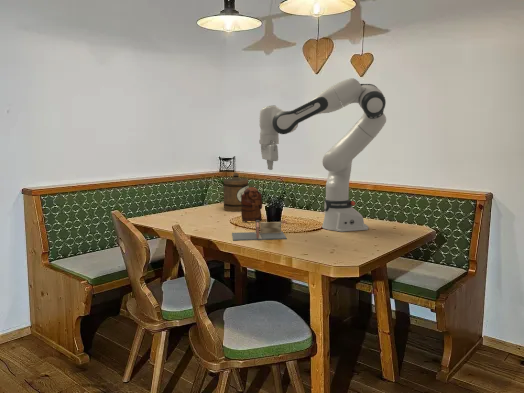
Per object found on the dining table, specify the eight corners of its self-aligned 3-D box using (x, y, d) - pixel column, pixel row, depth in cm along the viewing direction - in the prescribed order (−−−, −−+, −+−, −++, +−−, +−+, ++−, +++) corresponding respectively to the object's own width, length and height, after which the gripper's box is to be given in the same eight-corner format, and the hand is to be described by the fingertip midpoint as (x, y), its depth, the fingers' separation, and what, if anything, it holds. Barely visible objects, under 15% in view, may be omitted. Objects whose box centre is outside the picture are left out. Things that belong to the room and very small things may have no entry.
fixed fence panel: (280, 232, 225) (280, 219, 224) (281, 232, 224) (281, 220, 223) (255, 232, 224) (255, 220, 223) (256, 233, 222) (255, 221, 221)
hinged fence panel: (256, 232, 222) (256, 222, 221) (258, 232, 222) (258, 222, 221) (256, 237, 213) (256, 226, 212) (258, 237, 213) (258, 226, 212)
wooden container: (244, 212, 278) (244, 174, 274) (220, 211, 281) (219, 174, 278) (251, 207, 292) (251, 172, 289) (228, 206, 295) (227, 171, 292)
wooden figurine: (248, 223, 248) (248, 188, 245) (240, 221, 252) (239, 187, 249) (264, 219, 256) (264, 186, 253) (256, 218, 260) (256, 185, 257)
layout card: (282, 232, 227) (282, 231, 227) (286, 239, 214) (286, 237, 214) (231, 233, 224) (231, 232, 224) (233, 240, 211) (233, 239, 211)
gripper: (281, 140, 217) (281, 171, 219) (271, 139, 237) (271, 167, 239) (267, 141, 216) (268, 171, 218) (258, 140, 235) (259, 168, 237)
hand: (270, 169), depth 228 cm, fingers closed
